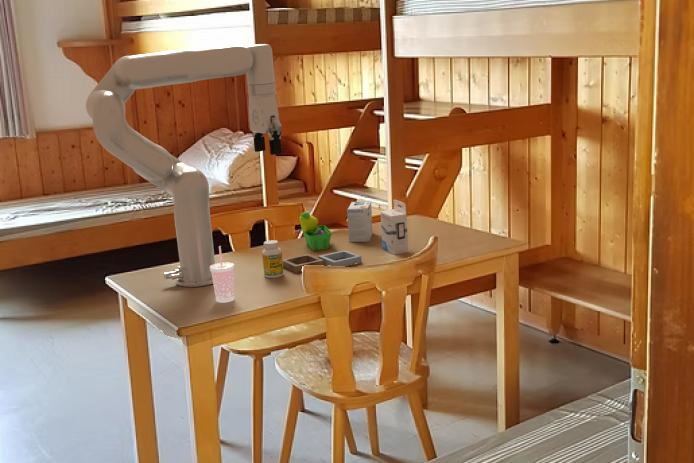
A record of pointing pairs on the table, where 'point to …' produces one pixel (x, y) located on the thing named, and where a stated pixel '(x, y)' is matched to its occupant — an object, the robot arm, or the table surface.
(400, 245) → the ink box
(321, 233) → the fruit basket
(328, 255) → the grey collar
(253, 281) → the table surface
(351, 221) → the light bulb box
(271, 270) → the supplement bottle
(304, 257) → the walnut collar
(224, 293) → the beverage cup
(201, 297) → the table surface
